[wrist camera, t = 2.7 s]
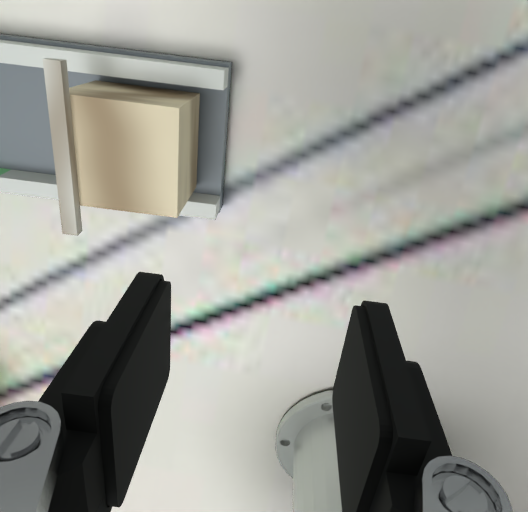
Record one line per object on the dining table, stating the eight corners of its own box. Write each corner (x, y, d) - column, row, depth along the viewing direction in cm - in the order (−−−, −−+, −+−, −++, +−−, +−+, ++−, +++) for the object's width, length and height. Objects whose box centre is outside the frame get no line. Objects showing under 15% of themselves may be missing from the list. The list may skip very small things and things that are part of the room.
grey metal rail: (231, 62, 26) (224, 66, 23) (222, 206, 30) (215, 223, 28) (-192, 10, 26) (-243, 8, 24) (-143, 160, 30) (-182, 172, 28)
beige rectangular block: (201, 64, 25) (176, 75, 20) (195, 209, 29) (174, 247, 24) (93, 51, 25) (42, 58, 20) (103, 197, 29) (62, 233, 24)
